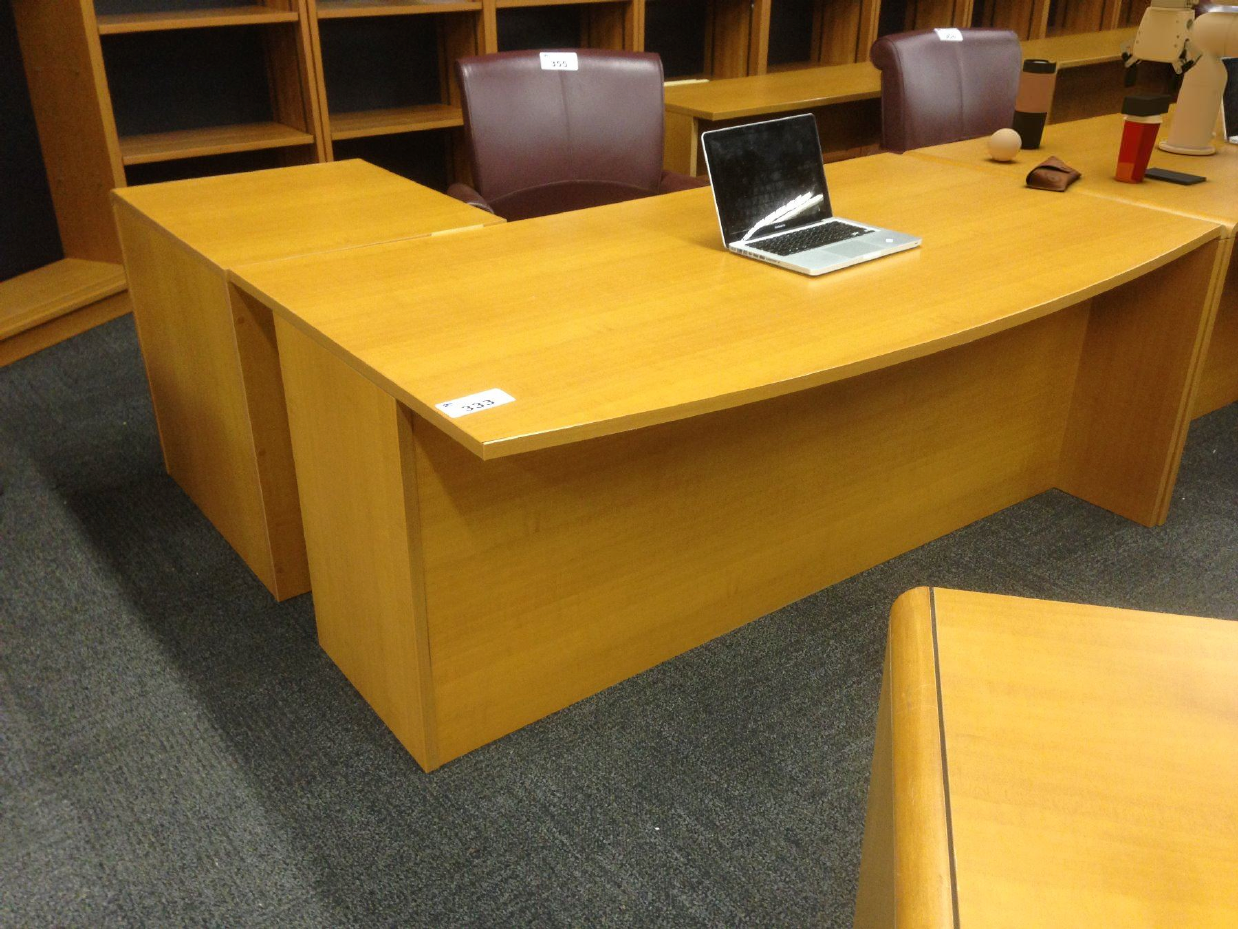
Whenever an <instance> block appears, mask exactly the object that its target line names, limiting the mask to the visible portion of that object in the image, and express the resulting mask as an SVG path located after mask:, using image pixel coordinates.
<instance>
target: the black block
mask: <svg viewBox="0 0 1238 929" xmlns="http://www.w3.org/2000/svg"><path fill="white" fill-rule="evenodd" d="M1172 98H1173V96H1172V95H1170V94H1162V93H1154V92H1147V93H1139V94H1133V95H1132V94H1131V95H1125V96H1124V98H1123V102H1122V106H1121V110H1120V115H1125V116H1126V115H1132V116H1138V117H1147V116H1153V115H1159V114H1161V115H1164V114H1168V113H1169V110H1170V107H1171V106H1170V105H1171V102H1172Z"/></svg>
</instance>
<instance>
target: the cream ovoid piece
mask: <svg viewBox="0 0 1238 929" xmlns="http://www.w3.org/2000/svg"><path fill="white" fill-rule="evenodd" d="M1021 147H1022V146H1021V138H1020V136H1019V135H1018V133H1017V132H1015V131H1014V130H1012V128H1001V129H998V130H997V131H995V132H994V133H993V134H992V135H991V137H990V138H989V140H988V142H987V150H988V154H989V156H990V157H991V158H992V159H994V160H996V161H998V162H1008V161H1011V160H1013V159H1014V158H1015V157H1017V155H1018V154H1019V152H1020V151H1021V149H1020V148H1021Z"/></svg>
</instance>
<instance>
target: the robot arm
mask: <svg viewBox="0 0 1238 929" xmlns="http://www.w3.org/2000/svg"><path fill="white" fill-rule="evenodd" d="M1209 1H1210V2H1211V3H1213V4H1216V5H1218V6H1219V5H1220V6H1227V7H1238V0H1209ZM1199 3H1200V0H1151V2H1150V6H1148V7H1147V8H1146V10H1145V11H1144V14H1143V16H1142V18H1141V21H1140V23H1139V27H1138V29H1137V32H1136V36H1134V37H1132V38H1130V39H1127V40H1125V41H1123V42H1121V43H1120V44H1119V49H1120V54H1121V59H1122V60H1123V62H1124V66H1125V68H1126V71H1125V75H1124V79H1123V82H1124V84H1123V87H1124V88H1127V89H1128V88H1132V87H1135V86H1136V82H1137V78H1138V74H1139V68H1140V67H1139V66H1138V65H1139V64H1140V63H1141V62H1142V61H1151V62H1160V63H1167V64H1168V63H1170V64H1171V65H1172V67H1173V69H1174V73H1172V74H1171V77H1170V81H1169V86H1168V89H1167V93H1168V95H1174V94H1178V96H1177V99H1176V103H1175V108H1174V111H1173V115H1172V119H1171V123H1170V127H1169V131H1168V135H1167V138H1166V140H1164V141H1160V142H1159V143H1158V149H1160V150H1161V151H1165V152H1169V153H1173V154H1181V155H1190V156H1191V155H1192V156H1209V155H1213V154H1214V153H1215V152H1216V147H1214V146H1212V145H1210V144H1211V141H1213V140H1216V138H1217V136H1218V135H1217V133H1216V131H1214V129H1215V126H1216V122H1217V118H1218V115H1219V112H1220V108H1221V103H1222V100H1223V96H1224V93H1225V90H1226V85H1227V82H1228V71H1227V69H1226V66H1225V64H1224V62H1223V60H1222V58H1234V59H1235V58H1236V59H1238V12H1231V11H1230V12H1229V11H1209V12H1205V13H1202V14H1200V15H1199V16H1197V17H1195V11H1196V10H1195V9H1192V8H1193V6H1194V5H1198V4H1199ZM1131 47H1133V48H1132V53H1131V52H1130V48H1131Z"/></svg>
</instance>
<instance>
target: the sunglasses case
mask: <svg viewBox="0 0 1238 929" xmlns="http://www.w3.org/2000/svg"><path fill="white" fill-rule="evenodd" d="M1080 177H1082V173H1081V172H1080V171H1079V170H1077V169H1075V168H1072V167H1071V166H1069V165H1068V164H1066V163H1064V162H1063V160H1062V159H1060V158H1058V157H1057V156H1055V155H1051V156H1050V157H1048V158H1047V159H1046V160H1043V161H1042V162H1041V163H1039V164H1038V165H1036V166H1034V168H1032V169H1031V170H1030V171H1029V172H1028V173H1027V175H1026V178H1025V183H1026V185H1027V187H1029V188H1033V189H1037V190H1043V191H1054V192H1056V191H1057V192H1062V191H1066V189H1067V187H1068V186H1069V185H1070V184H1072V183H1073V182H1074V181H1076V180H1078V179H1079V178H1080Z"/></svg>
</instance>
